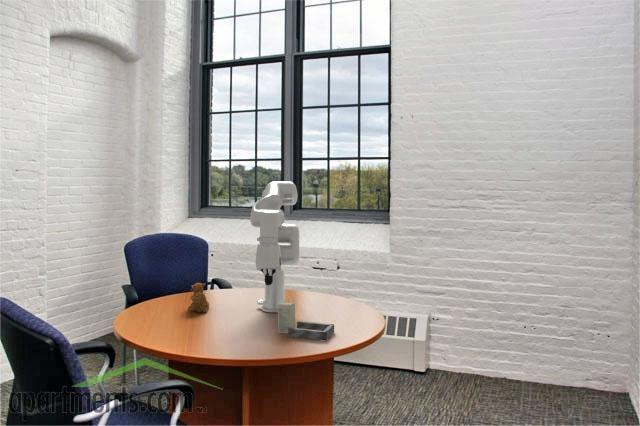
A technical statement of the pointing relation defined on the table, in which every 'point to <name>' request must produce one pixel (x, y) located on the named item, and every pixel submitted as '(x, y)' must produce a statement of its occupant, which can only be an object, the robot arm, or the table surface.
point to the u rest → (311, 330)
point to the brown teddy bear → (198, 299)
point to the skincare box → (286, 316)
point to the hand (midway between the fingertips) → (268, 284)
